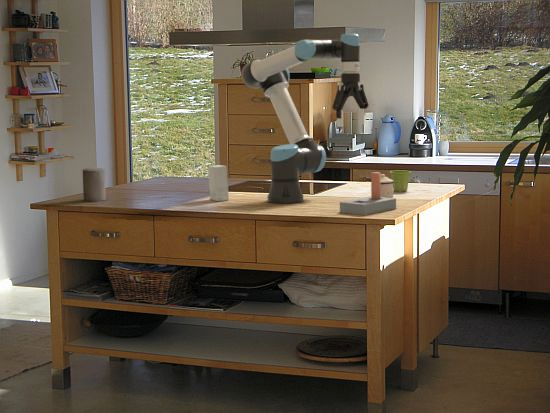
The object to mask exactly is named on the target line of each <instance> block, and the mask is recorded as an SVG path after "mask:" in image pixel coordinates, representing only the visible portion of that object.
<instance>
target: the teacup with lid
mask: <svg viewBox="0 0 550 413" xmlns="http://www.w3.org/2000/svg"><path fill="white" fill-rule="evenodd" d="M393 183H394V182H393V180H392V178H389V177H388V176H386V175H385V174H383V173H382V174H381V173H380V185H381V197H385V198H394V190H393Z"/></svg>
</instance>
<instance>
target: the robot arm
mask: <svg viewBox="0 0 550 413" xmlns="http://www.w3.org/2000/svg"><path fill="white" fill-rule="evenodd" d="M360 46H361V42H360V35H359V34H357V33H342V34H341V35H340V39H308V38H307V39H301V40H300V39H299V41H297V42H296V44H295V45H294V46H291V47H288V48H287V49H284V50H282V51H280V52H278V53H275V54H273V55H270V56H268V57H265V58H263V59H255V60H253V61H250V62H248V63H246V64H245V65H244V66H243V68H242V70H241V76H240V77H241V79H242V82H243V83H244V85H245V86H247V87H248V88H250V89H255V90H257V89H258V90H259V89H260V90H262V93H263V94H264V96H265V97H267V98H269V100H270V101H271V104H272V106H273V108H274V110H275V113H276V116H277V118H278V120H279V123H280V124H281V128H283V131H284V134H285V136H286V138H287V140H288V142H289V143H287V144H281V145H277V146H274V147H272V149H271V150H270V157H269V159H270V178H271V183H270V186H269V190H268V191H269V192H268V194H267V202H268V203H272V204H295V203H301V202H303V201H304V194H303V192H302V188H301V185H300V176H299V175H306V174H314V173H317V172H320V171H322V169H323V168H324V167H325V164H326V161H327V154H326V153H327V152H326V151H325V150H326V149H325V148H324V147H323V146H322V145H320V144H316V140H314V137H311V136H309V135H308V132H307V130H306V128H305V126H304V123H303V122H302V119H301V116H300V114H299V112H298V110H297V108H296V105H295V103H294V101H293V99H292V97H291V95H290V93H289V90H288V89H289V87H290V84H289V83H290V77H291V76H290V75H291V74H290V71H289V69H290V68H293V67H296V66H298V65H301V64H302V63H305V62H307V61H311V60H315V59H316V60H317V59H321V60H322V59H323V60H324V59H326V60H330V59H340V72H341V74H340V82H341V83H342V85H337V91H336V94H335V97H334V100H333V104H332V109H333V110H334V111H335V115H336V127H339V128H342V127H344V110H343V109H344V106H345V104H346V102H347V101H348V98H350V97H352V98H354V100H355V102H356V104H357V106H358V107H359V108H358V109H357V111H358V112H357V113H358V114H357V117H358V118H357V120H358V121H357V123H358V124H357V125H361V126H363V125H365V119H366V118H365V117H366V116H365V115H366V109H368V107H369V102H368V99H367V96H366V92H365V87H364V84H360V83H361V75H360V73H359V72H360V71H361V68H360V66H361V65H360V64H361V63H360V62H361V60H360V55H361V54H360V53H361V52H360V50H361V47H360Z"/></svg>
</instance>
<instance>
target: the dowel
mask: <svg viewBox="0 0 550 413" xmlns="http://www.w3.org/2000/svg"><path fill="white" fill-rule="evenodd" d="M380 174H381V172H379V171H375V172H373V171H372V172H371V173H370V183H371V184H370V187H371V188H370V190H371V191H370V193H371V194H370V196H371V199H372V200H380V199H381V185H380Z"/></svg>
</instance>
